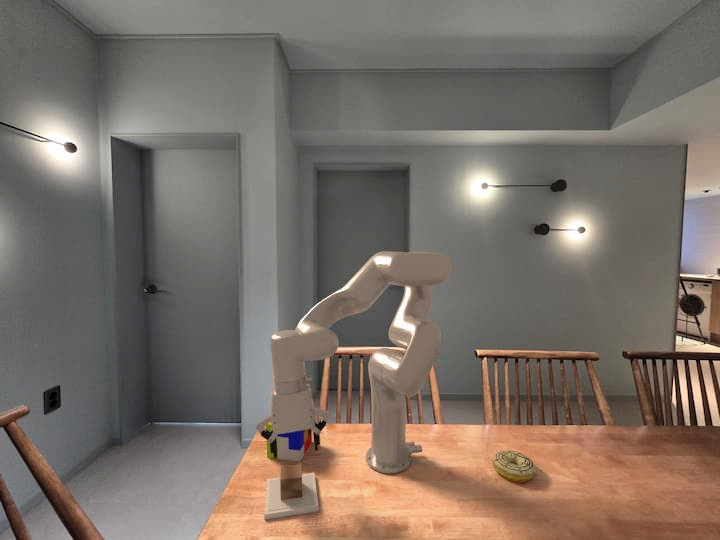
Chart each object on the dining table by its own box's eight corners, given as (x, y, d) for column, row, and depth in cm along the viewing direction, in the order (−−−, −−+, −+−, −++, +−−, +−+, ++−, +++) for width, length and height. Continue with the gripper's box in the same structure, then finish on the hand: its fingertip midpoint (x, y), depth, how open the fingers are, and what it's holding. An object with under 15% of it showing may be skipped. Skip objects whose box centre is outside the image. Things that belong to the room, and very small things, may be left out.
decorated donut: (542, 473, 95) (543, 459, 94) (524, 492, 88) (525, 477, 87) (504, 455, 102) (505, 442, 102) (485, 471, 95) (485, 458, 95)
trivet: (314, 477, 93) (314, 472, 93) (318, 511, 81) (318, 505, 81) (267, 483, 91) (266, 478, 91) (264, 519, 79) (264, 514, 79)
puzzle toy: (300, 461, 100) (299, 427, 99) (267, 457, 102) (266, 424, 101) (311, 442, 109) (311, 410, 109) (281, 438, 111) (280, 407, 111)
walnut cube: (301, 483, 89) (301, 464, 88) (302, 497, 84) (302, 477, 84) (281, 485, 88) (280, 466, 88) (280, 500, 83) (280, 479, 83)
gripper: (325, 372, 89) (329, 436, 91) (253, 382, 86) (260, 448, 88) (328, 384, 82) (333, 454, 84) (250, 396, 78) (257, 468, 80)
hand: (296, 451), depth 86 cm, fingers open, 9 cm apart
